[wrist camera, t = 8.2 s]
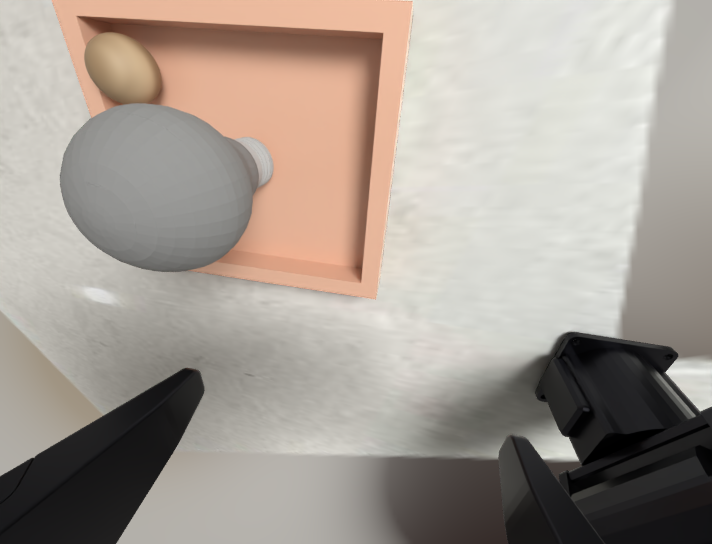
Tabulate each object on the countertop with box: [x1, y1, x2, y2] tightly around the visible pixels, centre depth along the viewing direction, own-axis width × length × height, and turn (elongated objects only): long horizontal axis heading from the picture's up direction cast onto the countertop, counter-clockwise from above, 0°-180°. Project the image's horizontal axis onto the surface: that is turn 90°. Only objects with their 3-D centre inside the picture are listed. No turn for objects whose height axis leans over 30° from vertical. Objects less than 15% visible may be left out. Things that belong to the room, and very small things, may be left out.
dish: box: [52, 0, 413, 299], centre depth 17 cm, size 16×14×2 cm
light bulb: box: [60, 103, 274, 272], centre depth 13 cm, size 6×6×10 cm
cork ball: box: [84, 32, 162, 104], centre depth 15 cm, size 3×3×3 cm
